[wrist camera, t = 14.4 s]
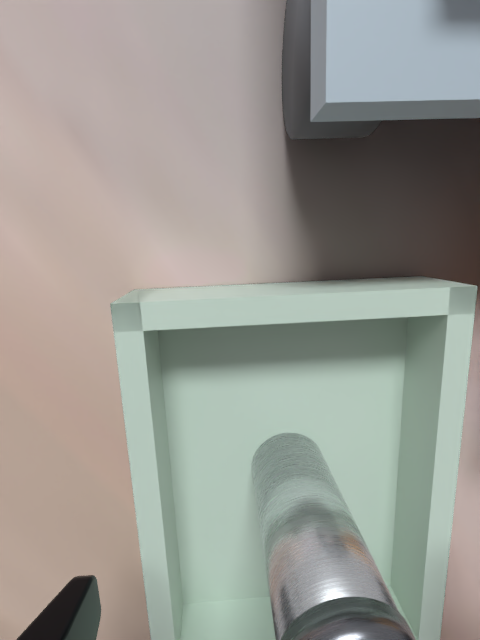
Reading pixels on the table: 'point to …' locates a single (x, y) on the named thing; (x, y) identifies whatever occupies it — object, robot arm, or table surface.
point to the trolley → (378, 64)
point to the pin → (316, 551)
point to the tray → (290, 417)
